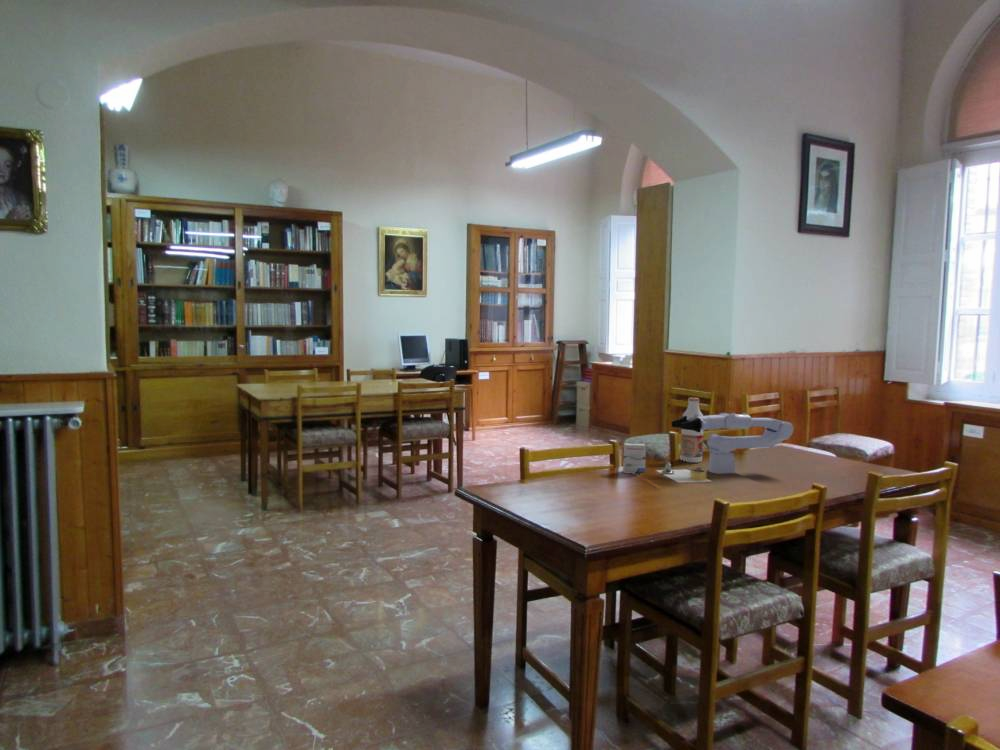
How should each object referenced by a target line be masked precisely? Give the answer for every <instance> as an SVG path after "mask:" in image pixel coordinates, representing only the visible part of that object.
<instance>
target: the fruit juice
mask: <svg viewBox="0 0 1000 750" xmlns="http://www.w3.org/2000/svg"><path fill="white" fill-rule="evenodd" d="M687 402H688V404H687V408H686V409H685V411H684V412H683V413H682V417H683V416H687V419H690V418H692V417H694V414H695V413H697V414H698V415H699V416H704V414H703V413H702V411H701V409H700V406H699V403H700V398H699V397H693V396H691V397H688V399H687ZM682 417H681V418H682ZM680 429H681V428H680ZM703 444H704V430H701V431H700V432H696V431H693V430H686V429H681V432H680V451H679V454H680V455H679V459H680V461H682V460H683V461H682V462H685V461H686V462H685V463H701V462H702V461H703V448H704V447H703V446H704V445H703Z"/></svg>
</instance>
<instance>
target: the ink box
mask: <svg viewBox="0 0 1000 750" xmlns="http://www.w3.org/2000/svg"><path fill="white" fill-rule="evenodd" d="M646 453H647V446H646V444H645V443H628V442H627V443H625V442H624V443H623V462H622V463H623V464H622V471H623V472H622V473H623V474H624V473H634V474H633V475H640V473H646V461H647V460H646V459H647V454H646ZM635 473H636V474H635Z"/></svg>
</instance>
